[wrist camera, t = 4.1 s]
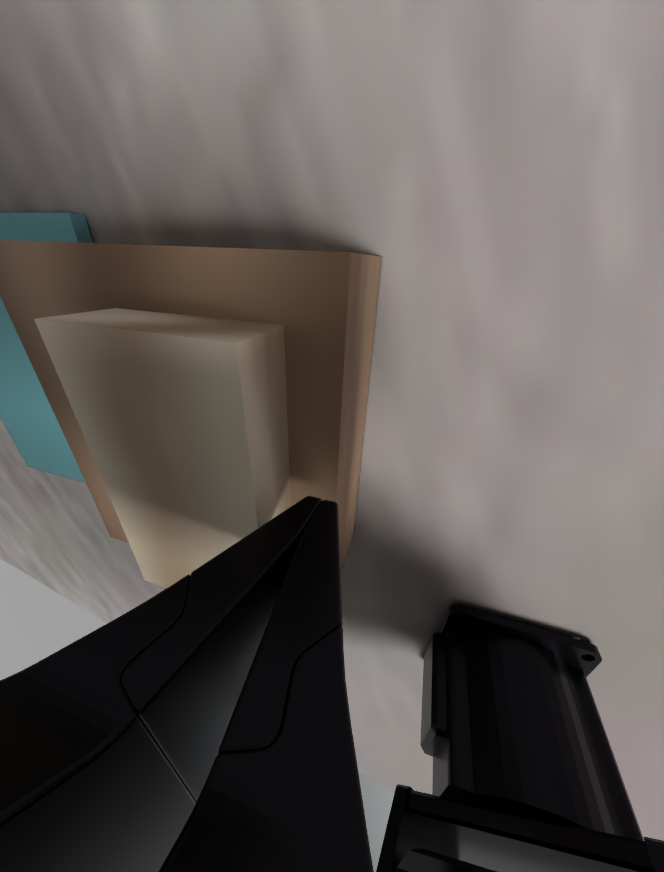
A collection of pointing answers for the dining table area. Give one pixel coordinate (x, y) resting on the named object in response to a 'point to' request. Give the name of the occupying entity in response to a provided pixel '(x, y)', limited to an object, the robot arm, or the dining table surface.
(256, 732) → the robot arm
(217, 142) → the dining table surface
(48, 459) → the teal mat
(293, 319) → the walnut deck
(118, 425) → the birch tile
